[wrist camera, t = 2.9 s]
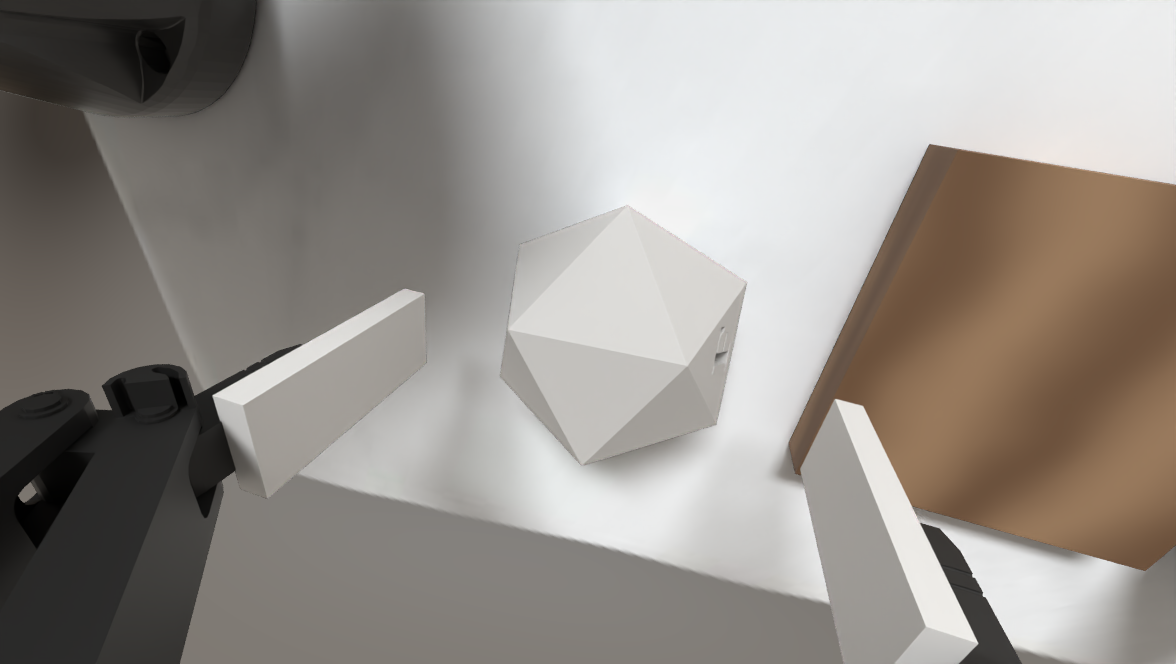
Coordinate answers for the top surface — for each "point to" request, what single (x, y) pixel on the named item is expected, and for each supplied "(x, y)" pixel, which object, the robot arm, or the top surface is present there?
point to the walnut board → (1022, 353)
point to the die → (619, 334)
